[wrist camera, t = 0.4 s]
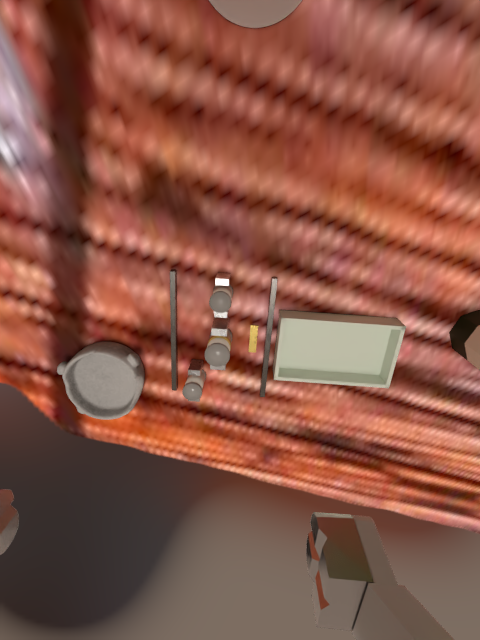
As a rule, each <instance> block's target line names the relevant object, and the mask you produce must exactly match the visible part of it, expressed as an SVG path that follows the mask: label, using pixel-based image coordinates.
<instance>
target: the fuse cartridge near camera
mask: <svg viewBox="0 0 480 640" xmlns="http://www.w3.org/2000/svg"><path fill="white" fill-rule="evenodd" d="M205 379H206V372H205V371H204V370H203V369H202V371H201V374H200V376H194V375H188V378H187V381H186V384H185V386H184V388H183V395H184V397H185V398H186V399H188V400H192V401H194V400H197V399H199V398H200V397H201V395H202V388H203V384H204V381H205Z"/></svg>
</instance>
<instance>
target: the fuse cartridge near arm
mask: <svg viewBox="0 0 480 640" xmlns="http://www.w3.org/2000/svg"><path fill="white" fill-rule="evenodd" d="M232 296H233V288H232V286H231V285H230V284H229V286H224V285H216V286H215V287H214V290H213V294H212V296H211V298H210V301H209V304H210V307H211V308H212V310H214V311H215V312H218V313H224V312H226V311H228V310H229V308H230V306H231V298H232Z"/></svg>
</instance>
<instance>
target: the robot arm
mask: <svg viewBox="0 0 480 640" xmlns="http://www.w3.org/2000/svg"><path fill="white" fill-rule="evenodd" d="M209 1H210V3H211V4H212V5H213V7H214V8H215V9H216V10H217V11H218V12H219V13H220V14H221V15H222V16H223V17H225V18H226V19H228V20H229V21H231V22H233V23H235V24H237V25H240V26H243V27H249V28H261V27H266V26H270V25H273V24H275V23H277V22H279V21H281V20H282V19H284V18H285V17H287V16H288V15H289V14H290V13H291V12H293V11H294V10H295V9H296V7H297V6H298V5H299V4H300V3H301V1H302V0H209ZM13 500H14V497H13V494H12V491H11V490H5V489H0V555H1V554H2V553H4V552H5V551H6V550H7V548H8V546H9V545H10V543H11V542H12V541H13V539H14V536H15V534H16V531H17V528H18V523H19V516H18V512H17V510H15V509H14V508H13V507H12V506H11V505H10V504H11V503H12V501H13ZM311 528H312V531H311V532H310V533H308V538H307V549H306V556H307V567H308V574H309V576H310V577H311V579H312V580H313V581H314V586H313V591H312V600H313V607H314V613H315V620H316V626H317V627H320V628H329V629H338V630H346V631H353V632H352V634H353V636H354V637H355V639H356V640H454V639H453V638H452V637H451V635H449V633H448V632H446V630H445V629H444V628H443V627H442V626H441V625H440V624H439V623H438V622H437V621H436V619H435V618H434V617H433V616H432V615H431V614H430V613H429V612H428V611H427V610H426V609H425V608H424V606H423V605H422V604H421V603H420V602H419V601H418V600H417V599H416V598H415V597H414V596H413V595H412V594H411V592H410V591H409V590H408V589H407V588H406V587H405V586H402V585H398V584H397V581H396V578H395V576H394V573H393V570H392V568H391V565H390V562H389V560H388V557H387V555H386V552H385V549H384V547H383V544H382V541H381V539H380V536H379V534H378V531H377V528H376V526H375V523H374V521H373V519H372V518H371V517H368V516H354V515H348V514H330V513H315V512H314V513H313V514H312V517H311Z"/></svg>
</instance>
